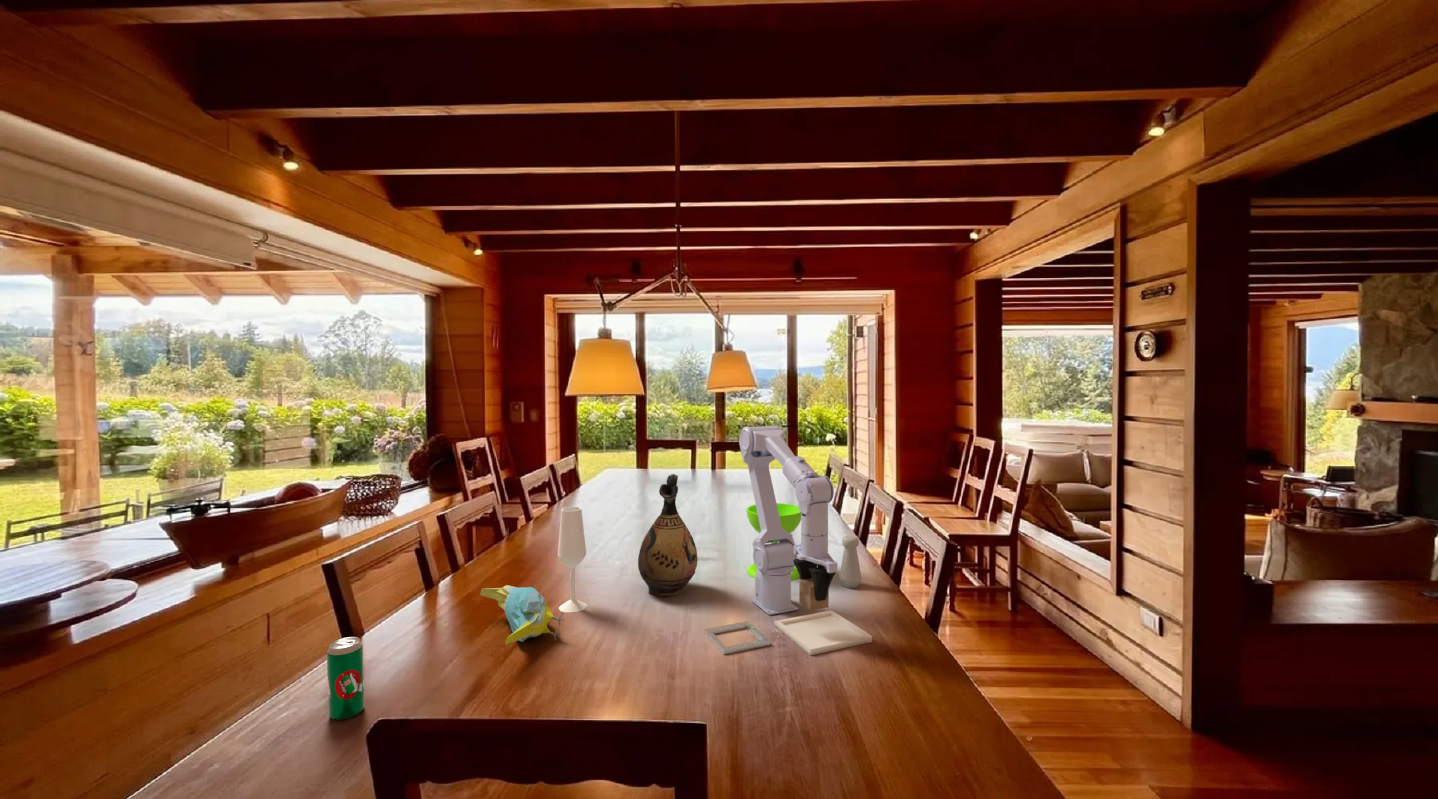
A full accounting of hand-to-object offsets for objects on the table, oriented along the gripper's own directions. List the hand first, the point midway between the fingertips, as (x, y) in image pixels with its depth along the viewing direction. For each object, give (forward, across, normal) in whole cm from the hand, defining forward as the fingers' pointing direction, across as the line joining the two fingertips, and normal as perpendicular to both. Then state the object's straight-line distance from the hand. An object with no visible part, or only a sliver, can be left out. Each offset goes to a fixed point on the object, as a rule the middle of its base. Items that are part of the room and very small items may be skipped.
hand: (814, 595), depth 127 cm
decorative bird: (+9, -25, -62) cm, 67 cm away
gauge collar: (+8, -4, -16) cm, 19 cm away
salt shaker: (+9, -22, +24) cm, 34 cm away
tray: (+8, 0, +2) cm, 9 cm away
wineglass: (+9, -40, +11) cm, 42 cm away
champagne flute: (+9, -36, -46) cm, 59 cm away
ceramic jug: (+9, -38, -21) cm, 44 cm away
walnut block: (+2, 0, 0) cm, 2 cm away
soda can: (+9, -5, -87) cm, 88 cm away
